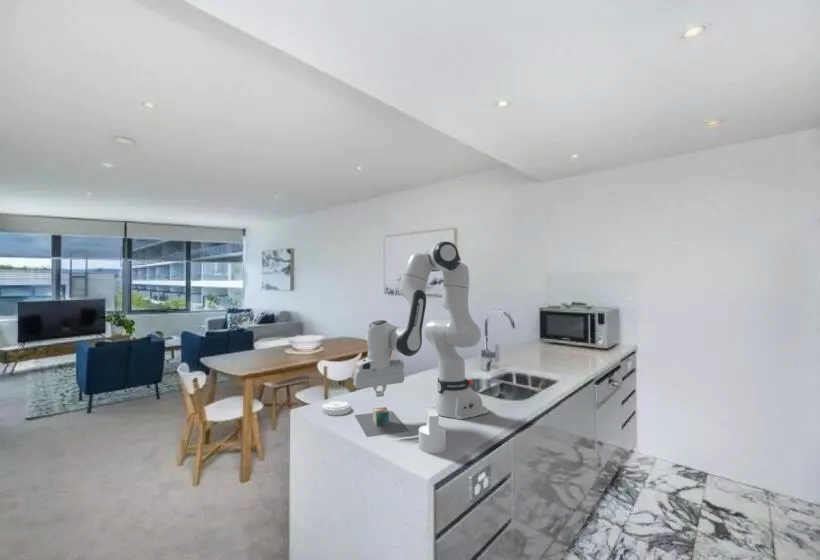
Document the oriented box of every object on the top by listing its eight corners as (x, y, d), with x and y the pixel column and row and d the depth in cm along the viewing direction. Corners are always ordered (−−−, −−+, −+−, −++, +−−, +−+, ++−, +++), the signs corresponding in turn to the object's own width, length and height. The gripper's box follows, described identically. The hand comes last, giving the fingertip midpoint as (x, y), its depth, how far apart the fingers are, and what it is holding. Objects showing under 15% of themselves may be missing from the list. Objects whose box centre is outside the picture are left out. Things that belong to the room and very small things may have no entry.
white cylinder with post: (417, 442, 132) (417, 407, 132) (443, 441, 132) (443, 406, 132) (420, 453, 123) (420, 416, 123) (447, 453, 123) (447, 416, 123)
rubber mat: (391, 412, 162) (391, 410, 162) (409, 432, 140) (409, 431, 140) (354, 416, 156) (354, 415, 156) (366, 438, 135) (366, 436, 135)
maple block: (385, 407, 151) (389, 411, 146) (385, 419, 151) (388, 424, 146) (373, 408, 149) (376, 413, 144) (373, 421, 149) (376, 426, 144)
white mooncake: (356, 411, 164) (356, 402, 164) (337, 419, 154) (337, 410, 154) (336, 406, 170) (336, 398, 170) (316, 414, 160) (316, 405, 160)
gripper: (401, 357, 158) (401, 390, 159) (352, 362, 151) (353, 397, 152) (406, 360, 153) (407, 395, 153) (355, 366, 145) (356, 402, 146)
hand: (379, 396), depth 152 cm, fingers closed
